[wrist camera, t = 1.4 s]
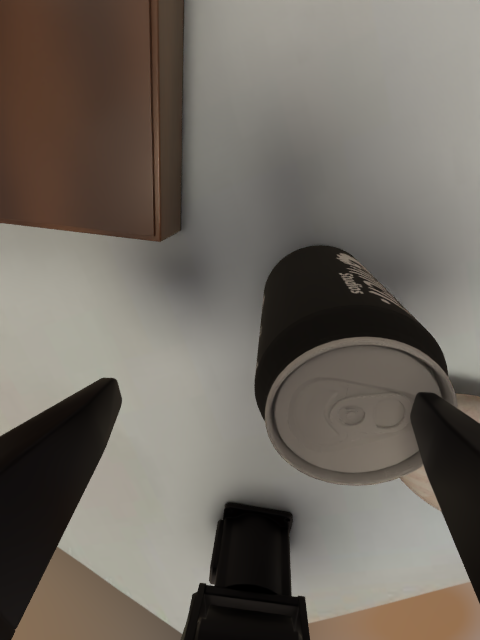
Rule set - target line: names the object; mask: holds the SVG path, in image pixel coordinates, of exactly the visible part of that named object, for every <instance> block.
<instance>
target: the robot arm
mask: <svg viewBox="0 0 480 640" xmlns="http://www.w3.org/2000/svg"><path fill="white" fill-rule="evenodd" d="M121 404H122V397H121V393H120V390H119V386H118V382H117V380H116V379H114V378H101V379H99V380H98V381H96V382H94V383H92V384H91V385H89V386H87V387H85V388H84V389H82V390H80V391H78V392H77V393H75V394H73V395H71V396H70V397H68V398H66V399H64V400H63V401H61V402H59V403H58V404H56V405H54V406H52V407H51V408H49V409H47V410H45V411H44V412H42V413H40V414H38V415H37V416H35V417H33V418H31V419H30V420H28V421H26V422H24V423H23V424H21V425H19V426H17V427H16V428H14V429H12V430H10V431H9V432H7V433H5V434H3V435H2V436H0V640H11V639H12V637H13V635H14V633H15V630H14V629H16V628H17V626H18V624H19V622H20V620H21V618H22V616H23V614H24V612H25V610H26V608H27V606H28V604H29V602H30V600H31V598H32V596H33V594H34V592H35V590H36V588H37V586H38V584H39V582H40V580H41V578H42V576H43V574H44V572H45V570H46V568H47V566H48V564H49V562H50V559H51V558H52V556H53V553H54V551H55V550H56V547H57V545H58V543H59V541H60V539H61V537H62V535H63V533H64V531H65V529H66V527H67V525H68V523H69V521H70V519H71V517H72V515H73V513H74V511H75V509H76V507H77V505H78V503H79V501H80V499H81V497H82V495H83V493H84V491H85V489H86V487H87V485H88V483H89V481H90V479H91V477H92V475H93V473H94V471H95V469H96V467H97V465H98V463H99V461H100V459H101V456H102V454H103V452H104V450H105V448H106V445H107V443H108V440H109V437H110V435H111V432H112V429H113V426H114V424H115V421H116V418H117V416H118V413H119V410H120V408H121ZM410 420H411V424H412V428H413V431H414V435H415V438H416V441H417V445H418V448H419V452H420V455H421V459H422V462H423V465H424V469H425V472H426V474H427V477H428V480H429V482H430V485H431V487H432V489H433V492H434V494H435V497H436V499H437V501H438V504H439V506H440V509H441V511H442V514H443V516H444V518H445V521H446V523H447V526H448V528H449V530H450V533H451V535H452V538H453V540H454V543H455V545H456V547H457V550H458V552H459V555H460V557H461V559H462V562H463V564H464V567H465V569H466V572H467V574H468V576H469V579H470V581H471V583H472V586H473V588H474V591H475V593H476V596H477V598H478V601H479V603H480V423H478V422H477V421H476V420H474V419H473V418H471V417H470V416H468V415H467V414H465V413H464V412H462V411H461V410H459V409H458V408H456V407H455V406H453V405H452V404H450V403H449V402H447V401H446V400H444V399H443V398H441V397H440V396H438V395H437V394H435V393H432V392H418V393H417V394H416V396H415V400H414V403H413V406H412V410H411V413H410ZM292 522H293V517H292V514H291V513H288V512H282V511H276V510H270V509H264V508H258V507H252V506H246V505H240V504H233V503H227V504H225V508H224V517H223V520H219V521H218V524H217V530H216V536H215V542H214V548H213V554H212V560H211V566H210V576H209V581H210V583H211V584H215V586H209V585H206V584H205V583H200V584H199V588H198V592H196V593H194V594H193V595H192V600H191V605H190V610H189V614H188V619H187V622H186V625H185V628H184V631H183V634H182V637H181V640H310V636H309V627H308V619H307V611H306V602H305V597H304V596H298V597H293V596H292V595H291V569H290V542H289V533H290V529H291V525H292Z"/></svg>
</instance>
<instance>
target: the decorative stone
mask: <svg viewBox="0 0 480 640" xmlns="http://www.w3.org/2000/svg"><path fill="white" fill-rule="evenodd" d="M456 398H457V404H458V409H459V410H461V411H462V412H464V413H465V414H467V415H468V416H470V417H471V418H473V419H474V420H476V421H477V422H478V423H480V397H478V396H474V395H467V394H456ZM400 479H401V480H402V481H403V482H404V483H405V484H406V485H407V486H408V487H409V488H410V489H411V490H412V491H413V492H414V493H415V494H417V495H418V496H419V497H420V498H422V499H423V500H424V501H426V502H427V503H428V504H430V505H432V506H433V507H435V508H437V509H438V510H440V511H441V509H440V506H439V504H438V501H437V499H436V497H435V494H434V492H433V489H432V487H431V485H430V482H429V480H428V477H427V474H426V472H425V469H424V466H422V467H420V468H419V469H417V470H415V471H414V472H412V473H410V474H408V475H406V476H403V477H400Z"/></svg>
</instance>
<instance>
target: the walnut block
mask: <svg viewBox="0 0 480 640" xmlns="http://www.w3.org/2000/svg"><path fill="white" fill-rule="evenodd" d="M183 25H184V0H0V223H6V224H14V225H23V226H31V227H40V228H48V229H57V230H65V231H73V232H82V233H90V234H99V235H107V236H116V237H124V238H133V239H141V240H149V241H158V242H161V241H163V240H165V239H166V238H168V237H170V236H172V235H174V234H175V233H177V232H179V231H180V230H181V167H182V96H183Z"/></svg>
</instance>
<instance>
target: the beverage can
mask: <svg viewBox="0 0 480 640" xmlns="http://www.w3.org/2000/svg"><path fill="white" fill-rule="evenodd" d="M418 392H432V393H435V394H437V395H438V396H440V397H441V398H443V399H444V400H446V401H447V402H449V403H450V404H452V405H453V406H455V407H456V408H458V404H457V398H456V394H455V391H454V388H453V385H452V383H451V382H450V380H449V378H448V371H447V365H446V361H445V358H444V355H443V353H442V350H441V348H440V347H439V345H438V343H437V342H436V340H435V339H434V338H433V336H432V335H431V334H430V333H429V332H428V331H427V330H426V329H425V328H424V327H423V326H422V325H421V324H420V323H419V322H418V321H417V320H416V319H415V318H414V317H413V316H412V315H411V314H410V313H409V312H408V311H407V310H406V309H405V308H404V307H403V306H402V305H401V304H400V303H399V302H398V301H397V300H396V299H395V298H394V297H393V296H392V295H391V294H390V293H389V292H388V291H387V290H386V289H385V288H384V287H383V286H382V285H381V284H380V283H379V282H378V281H377V280H376V279H375V278H374V277H373V276H372V275H371V274H370V273H369V272H368V271H367V270H366V269H365V268H364V267H363V266H362V265H361V264H360V263H359V262H358V261H357V260H356V259H355V258H354V257H353V256H352V255H350V254H349V253H347V252H345V251H343V250H341V249H338V248H335V247H331V246H321V245H319V246H309V247H305V248H302V249H299V250H296V251H294V252H292V253H291V254H289V255H287V256H286V257H285V258H283V259H282V260H281V261H280V262H279V263H278V264H277V265H276V266H275V267H274V269H273V270H272V272H271V273H270V275H269V277H268V279H267V282H266V285H265V289H264V297H263V307H262V317H261V326H260V336H259V346H258V355H257V365H256V375H255V397H256V401H257V405H258V408H259V410H260V412H261V415H262V417H263V419H264V420H265V423H266V429H267V432H268V435H269V438H270V440H271V442H272V444H273V446H274V448H275V449H276V450H277V452H278V453H279V454H280V456H281V457H282V458H283V459H284V460H285V461H286V462H287V463H289V464H290V465H291V466H293V467H294V468H296V469H297V470H299V471H300V472H302V473H304V474H306V475H308V476H310V477H313V478H315V479H319V480H322V481H325V482H329V483H334V484H340V485H355V486H359V485H372V484H378V483H383V482H387V481H391V480H394V479H397V478H400V477H403V476H406V475H408V474H410V473H412V472H414V471H415V470H417V469H419V468H420V467H422V466H424V465H423V462H422V459H421V455H420V452H419V448H418V445H417V441H416V438H415V435H414V431H413V428H412V424H411V420H410V413H411V410H412V406H413V403H414V400H415V396H416V394H417V393H418Z"/></svg>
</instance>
